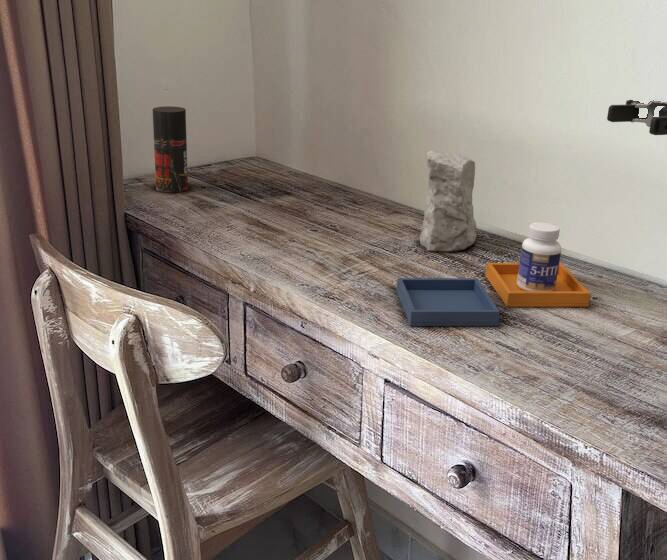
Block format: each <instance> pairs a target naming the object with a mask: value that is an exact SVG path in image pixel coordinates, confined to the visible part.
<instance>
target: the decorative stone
mask: <svg viewBox="0 0 667 560" xmlns="http://www.w3.org/2000/svg"><path fill="white" fill-rule="evenodd" d="M426 167H427V169H428V186H427V187H428V188H427V196H426V200H425V205H424V211H423V215H424V217H423V221H422V227H421V232H420V235H419V242H420V245H421V246H422V247H424V248H425V249H426V251H427V252H433V253H434V252H440V253H441V252H447V253H448V252H460V251H465V250H466V249H467V248H469V247H471V246H472V245H473V244H474V243H475V242H476V239H477V232H476V229H477V222H476V219H475V217H474V205H473V191H474V186H475V175H476V161H474V160H472V158H470V157H467V156H463V155H461V154H454V153H446V152H438V151H434V150H433V149H430V150H429V151H427V152H426Z"/></svg>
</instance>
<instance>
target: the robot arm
mask: <svg viewBox="0 0 667 560" xmlns="http://www.w3.org/2000/svg"><path fill="white" fill-rule="evenodd" d="M633 100H634V99H628V100H627V99H626V100H625V104H611V105H609V107H608V110H607V115H606V116H607V117H606V120H607V121H608V122H610V123H629V122H630V123H641V124H643V123H644V124H645V125H646V127H648V128H649V130H648V132H649V134H650V135H653V136H667V101H666V102H661V101H654V100H655V99H652V100H653V101H650V102H649V103H648V104H644V103H640V102H639V101H633ZM657 106H664V107H663V108H662V109H661V110H660V111H659V117H653V116H654V110H655V108H656V107H657ZM639 108H647V109H648V114H647V117H646V118H639V116H638V114H639Z"/></svg>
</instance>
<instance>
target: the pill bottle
mask: <svg viewBox="0 0 667 560" xmlns="http://www.w3.org/2000/svg"><path fill="white" fill-rule="evenodd" d="M560 229H561V228H560V227H559V226H558V225H556V224H553V223H549V222H541V221H538V222H532V223H530V224H529V227H528V237H527V238H526V239H525V238H524V240H523V241H522V243H521V250H520V256H519V262H518V263H519V270H518V277H517V285H518V286H519V287H520V288H521V289H523V290H525V291H553V290H554V289H555V286H556V280H557V274H558V268H559V263H561V262H560V261H561V255H562V245H561V243H560V242H559V241H557V240H559V237H560Z"/></svg>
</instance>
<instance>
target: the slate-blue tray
mask: <svg viewBox="0 0 667 560" xmlns="http://www.w3.org/2000/svg"><path fill="white" fill-rule="evenodd" d="M396 294H397V296H398V299H399V301H400V305H401V306H402V309H403V312H404V314H405V316H406V318H407V321H408V324H409V327H498V326H499V322H500V315H501V311H500V310H499V308H498V307H497V305H496V304H495V302H494V300H493V299H492V297H491V295H490V294H489V293H488V291H487V290H486V288H485V287H484V285H483V284H482V282H481V281H480V280H479V278H474V277H472V278H471V277H468V278H467V277H465V278H463V277H462V278H461V277H455V278H454V277H452V278H451V277H397V278H396Z"/></svg>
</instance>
